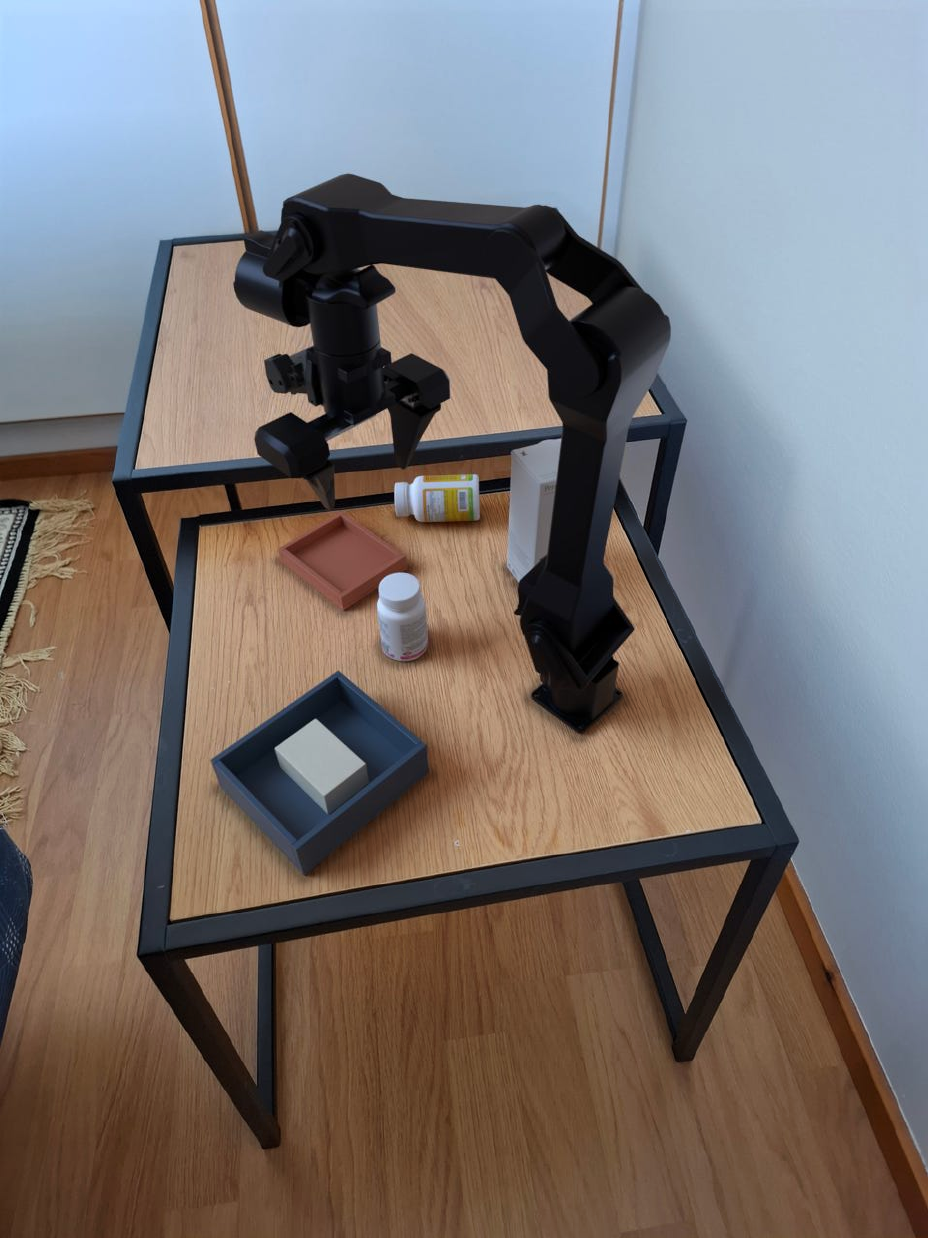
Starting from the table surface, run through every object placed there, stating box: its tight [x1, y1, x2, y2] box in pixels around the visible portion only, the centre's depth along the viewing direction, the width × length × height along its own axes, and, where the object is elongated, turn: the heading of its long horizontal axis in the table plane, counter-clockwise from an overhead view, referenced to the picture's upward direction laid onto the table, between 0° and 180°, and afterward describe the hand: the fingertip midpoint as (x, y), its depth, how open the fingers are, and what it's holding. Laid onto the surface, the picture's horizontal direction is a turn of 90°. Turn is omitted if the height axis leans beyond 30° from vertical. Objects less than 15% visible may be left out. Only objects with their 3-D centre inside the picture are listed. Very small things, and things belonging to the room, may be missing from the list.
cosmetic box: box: [506, 437, 561, 583], centre depth 91 cm, size 8×7×16 cm
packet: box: [275, 719, 369, 815], centre depth 77 cm, size 7×5×3 cm, turn 45°
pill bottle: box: [376, 572, 429, 662], centre depth 87 cm, size 5×5×8 cm
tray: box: [277, 510, 408, 611], centre depth 97 cm, size 11×9×2 cm
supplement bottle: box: [393, 473, 481, 523], centre depth 102 cm, size 5×5×10 cm
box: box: [209, 670, 430, 876], centre depth 77 cm, size 12×14×4 cm
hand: (366, 487), depth 86 cm, fingers open, 9 cm apart
